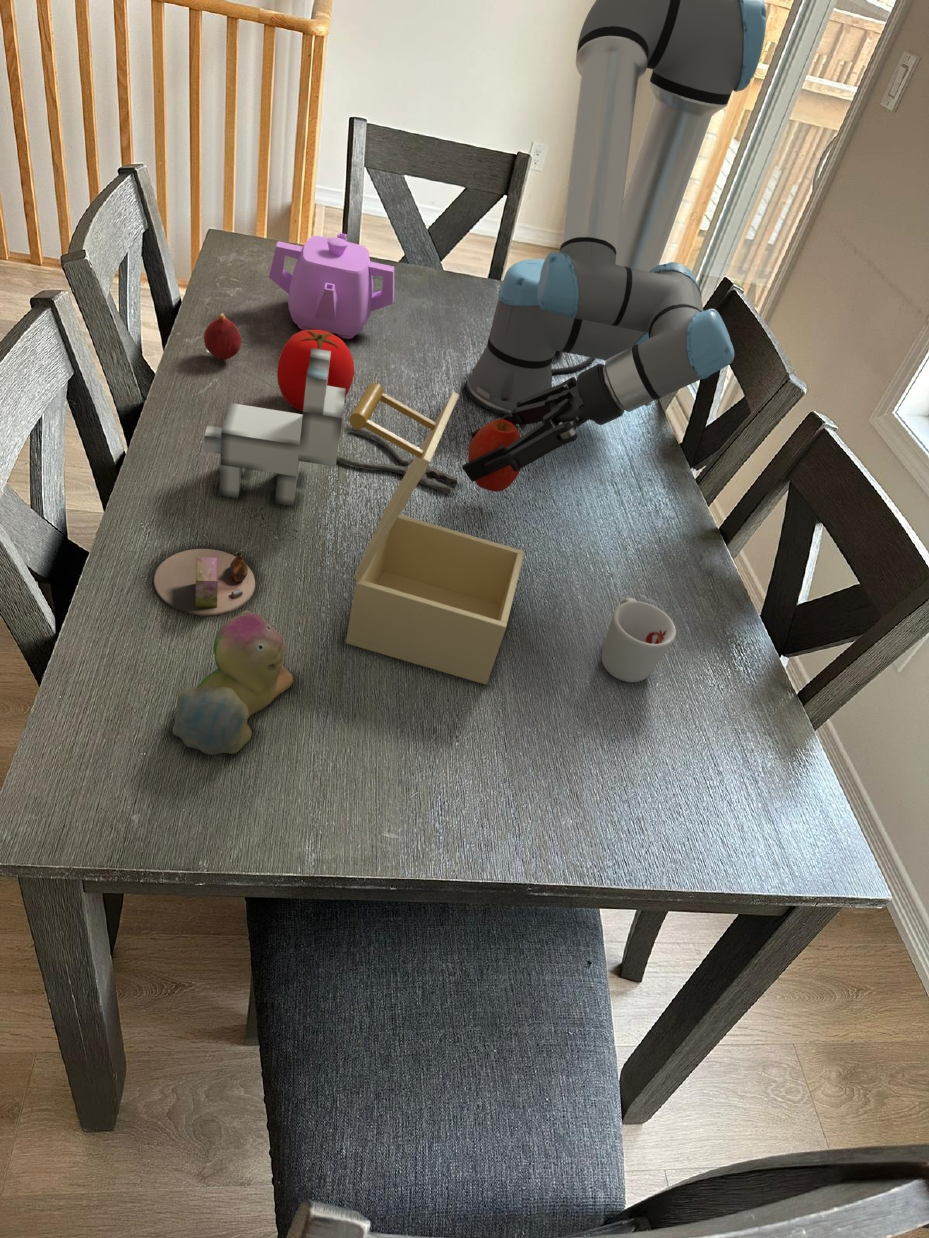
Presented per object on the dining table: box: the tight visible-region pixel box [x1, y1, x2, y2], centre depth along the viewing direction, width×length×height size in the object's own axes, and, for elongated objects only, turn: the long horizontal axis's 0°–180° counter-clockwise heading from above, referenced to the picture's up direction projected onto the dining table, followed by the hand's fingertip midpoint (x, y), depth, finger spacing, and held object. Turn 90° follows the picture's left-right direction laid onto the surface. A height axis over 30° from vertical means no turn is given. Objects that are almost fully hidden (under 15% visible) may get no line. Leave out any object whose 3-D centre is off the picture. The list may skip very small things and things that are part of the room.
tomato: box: [276, 329, 355, 413], centre depth 138 cm, size 12×12×13 cm
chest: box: [345, 513, 525, 686], centre depth 108 cm, size 18×15×10 cm
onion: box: [203, 312, 242, 362], centre depth 144 cm, size 6×6×8 cm
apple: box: [467, 418, 522, 493], centre depth 127 cm, size 8×8×11 cm
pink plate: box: [152, 548, 256, 617], centre depth 107 cm, size 12×12×4 cm
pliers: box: [337, 426, 458, 494], centre depth 136 cm, size 10×1×20 cm
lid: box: [348, 382, 460, 581], centre depth 98 cm, size 18×15×9 cm
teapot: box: [268, 232, 395, 340], centre depth 159 cm, size 19×18×15 cm
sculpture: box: [172, 610, 294, 755], centre depth 92 cm, size 15×8×10 cm, turn 164°
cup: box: [601, 597, 677, 683], centre depth 112 cm, size 11×8×8 cm
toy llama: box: [203, 348, 346, 507], centre depth 118 cm, size 8×18×20 cm, turn 93°
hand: (472, 456), depth 128 cm, fingers closed on apple, 8 cm apart
